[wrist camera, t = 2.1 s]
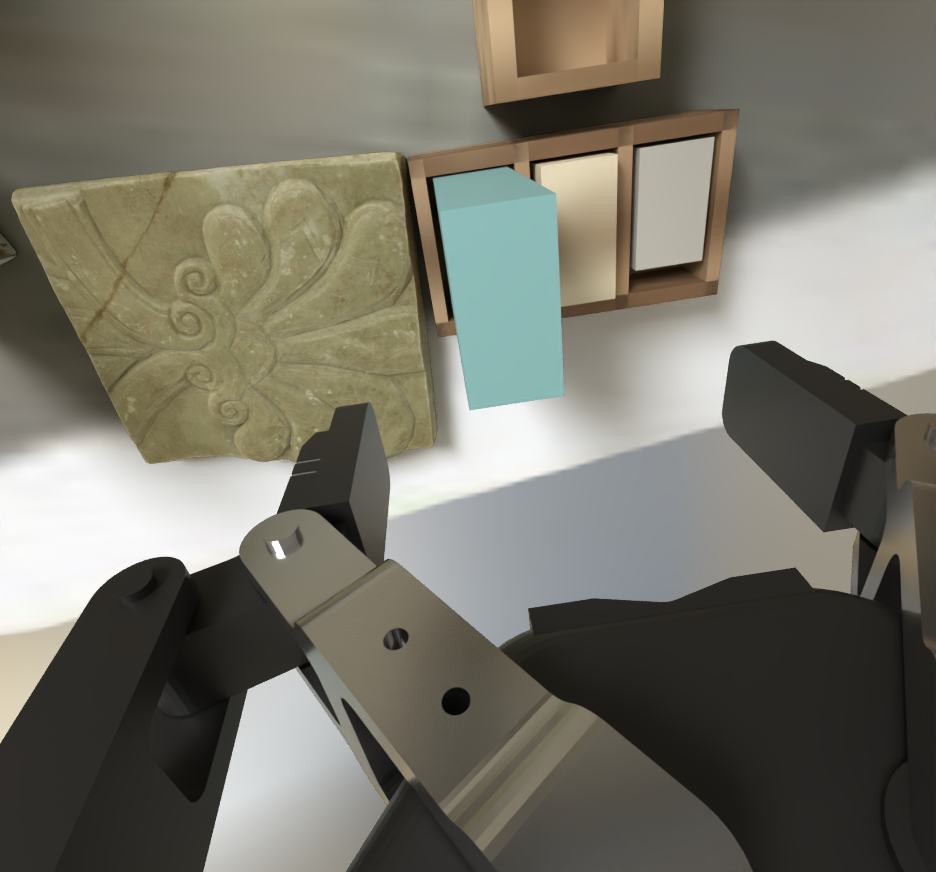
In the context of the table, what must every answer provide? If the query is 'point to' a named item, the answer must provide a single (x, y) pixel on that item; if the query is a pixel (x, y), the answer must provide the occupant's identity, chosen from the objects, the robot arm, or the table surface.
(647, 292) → the rack
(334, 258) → the decorative tile
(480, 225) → the tall teal slab
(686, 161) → the offcut
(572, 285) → the offcut
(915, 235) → the table surface
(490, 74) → the holder
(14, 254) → the coffee box
